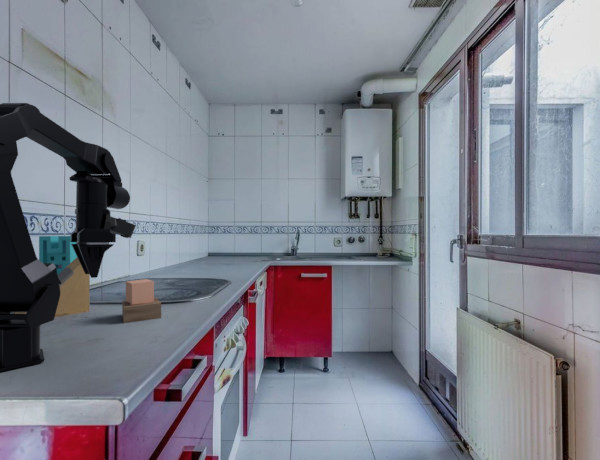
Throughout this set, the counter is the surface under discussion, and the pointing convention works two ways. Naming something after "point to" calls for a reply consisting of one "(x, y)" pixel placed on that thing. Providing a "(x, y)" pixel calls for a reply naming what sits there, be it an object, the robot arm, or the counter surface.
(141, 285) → the terracotta cube
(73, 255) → the toy
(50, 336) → the counter surface
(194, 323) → the counter surface
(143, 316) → the oak base block
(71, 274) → the sandwich container
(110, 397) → the counter surface
